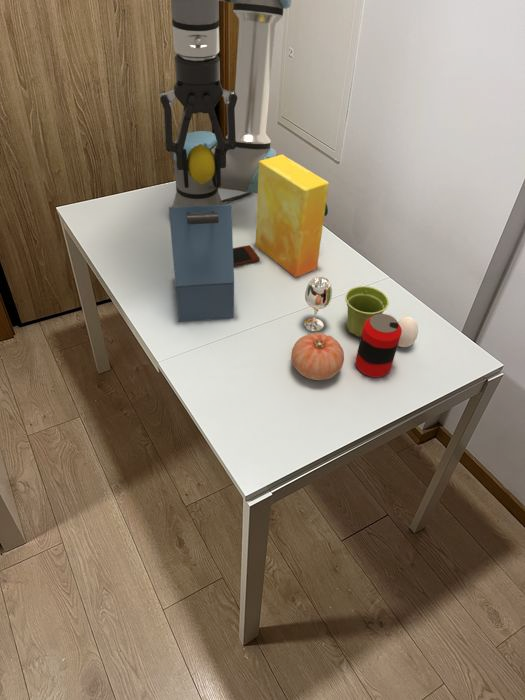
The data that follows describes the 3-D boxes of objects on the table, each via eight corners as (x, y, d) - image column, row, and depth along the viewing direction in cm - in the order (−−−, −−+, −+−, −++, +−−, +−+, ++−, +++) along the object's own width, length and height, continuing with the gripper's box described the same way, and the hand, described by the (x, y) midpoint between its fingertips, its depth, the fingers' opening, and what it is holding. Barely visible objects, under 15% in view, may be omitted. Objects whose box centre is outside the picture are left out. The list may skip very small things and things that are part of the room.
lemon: (194, 175, 108) (192, 136, 102) (220, 180, 107) (219, 140, 101) (183, 188, 104) (181, 148, 98) (210, 193, 103) (209, 153, 97)
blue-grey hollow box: (175, 280, 132) (172, 247, 125) (225, 277, 134) (225, 244, 127) (178, 322, 121) (175, 287, 114) (233, 317, 123) (234, 283, 116)
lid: (168, 207, 107) (169, 213, 101) (230, 204, 109) (235, 210, 103) (175, 285, 114) (176, 295, 107) (233, 281, 116) (238, 291, 109)
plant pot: (386, 341, 119) (394, 311, 113) (346, 344, 118) (352, 314, 112) (373, 314, 126) (380, 284, 120) (335, 317, 124) (340, 287, 118)
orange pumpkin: (328, 396, 107) (334, 368, 101) (280, 375, 110) (283, 348, 105) (348, 363, 114) (355, 335, 108) (303, 345, 117) (306, 317, 112)
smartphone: (196, 255, 138) (249, 244, 143) (196, 258, 139) (249, 247, 144) (205, 270, 134) (260, 258, 138) (205, 273, 134) (260, 261, 139)
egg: (388, 350, 117) (396, 324, 112) (389, 334, 121) (397, 308, 116) (413, 355, 116) (421, 328, 111) (413, 339, 120) (422, 313, 115)
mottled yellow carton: (331, 262, 140) (345, 176, 124) (295, 278, 135) (305, 190, 118) (290, 232, 150) (298, 149, 134) (254, 245, 145) (258, 160, 128)
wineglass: (322, 336, 120) (329, 293, 111) (298, 329, 121) (303, 287, 112) (329, 320, 124) (336, 278, 115) (305, 314, 125) (311, 272, 116)
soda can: (388, 381, 110) (401, 339, 102) (352, 373, 112) (362, 331, 103) (392, 357, 116) (404, 315, 107) (357, 349, 117) (367, 307, 109)
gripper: (140, 62, 85) (155, 195, 101) (255, 60, 87) (251, 190, 104) (139, 47, 90) (153, 176, 106) (248, 47, 93) (245, 172, 109)
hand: (202, 183), depth 105 cm, fingers closed on lemon, 6 cm apart
